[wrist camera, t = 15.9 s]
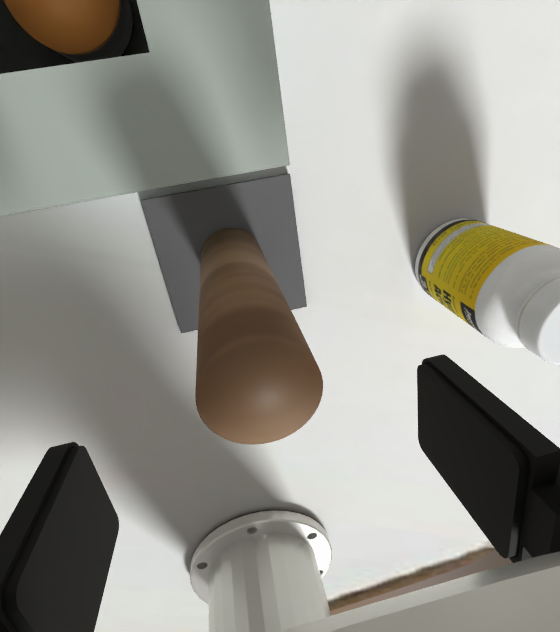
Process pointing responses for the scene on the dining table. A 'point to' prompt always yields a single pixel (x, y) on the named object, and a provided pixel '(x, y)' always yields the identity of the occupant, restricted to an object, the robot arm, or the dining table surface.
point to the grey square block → (147, 110)
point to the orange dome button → (77, 26)
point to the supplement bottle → (495, 283)
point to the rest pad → (218, 213)
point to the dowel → (249, 347)
